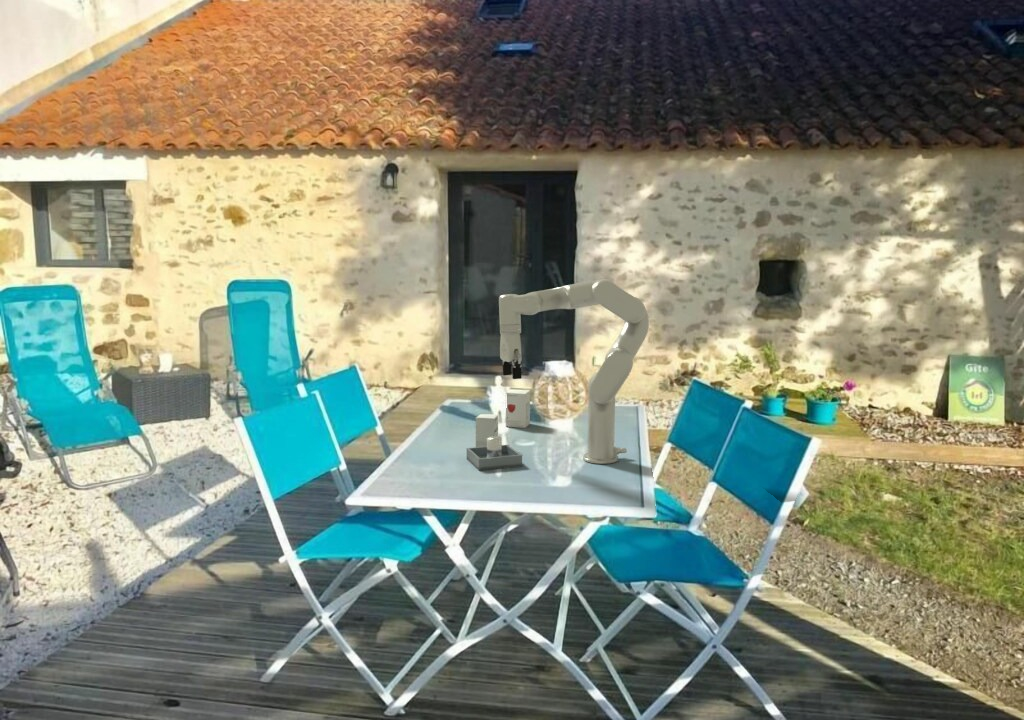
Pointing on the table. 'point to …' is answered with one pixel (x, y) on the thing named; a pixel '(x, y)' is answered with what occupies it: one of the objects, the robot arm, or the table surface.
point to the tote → (494, 458)
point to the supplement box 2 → (518, 408)
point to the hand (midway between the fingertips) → (512, 376)
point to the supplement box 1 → (485, 428)
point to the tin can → (494, 446)
